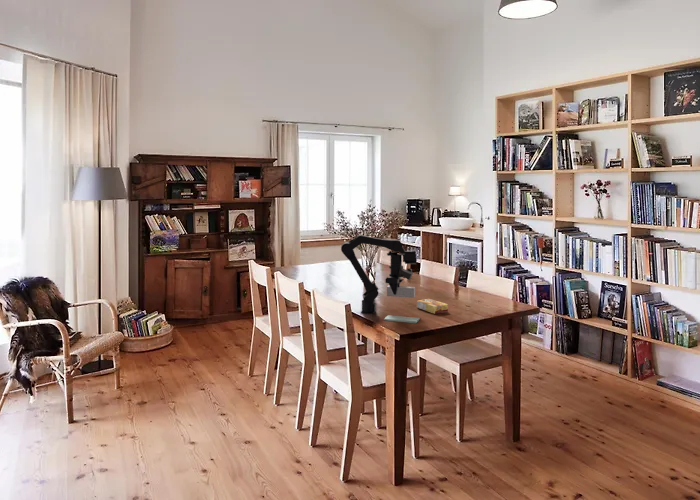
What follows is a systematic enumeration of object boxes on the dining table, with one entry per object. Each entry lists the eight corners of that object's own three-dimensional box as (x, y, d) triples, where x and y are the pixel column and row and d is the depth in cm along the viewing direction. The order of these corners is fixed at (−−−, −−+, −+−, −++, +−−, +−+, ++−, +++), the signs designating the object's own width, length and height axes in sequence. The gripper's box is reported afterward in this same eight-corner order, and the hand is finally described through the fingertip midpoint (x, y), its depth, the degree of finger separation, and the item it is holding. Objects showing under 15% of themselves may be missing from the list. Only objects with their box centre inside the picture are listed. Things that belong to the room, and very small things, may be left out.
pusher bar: (386, 296, 278) (387, 286, 277) (388, 294, 281) (388, 285, 280) (413, 297, 274) (414, 288, 273) (414, 296, 277) (415, 286, 276)
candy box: (448, 312, 279) (429, 306, 292) (448, 304, 279) (429, 298, 292) (434, 314, 275) (416, 307, 288) (434, 306, 274) (416, 300, 287)
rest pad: (384, 320, 263) (384, 318, 263) (388, 316, 270) (388, 315, 270) (416, 323, 258) (416, 321, 258) (419, 319, 265) (419, 318, 264)
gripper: (407, 267, 264) (406, 299, 267) (415, 262, 282) (415, 291, 284) (385, 266, 268) (385, 297, 270) (394, 261, 286) (394, 289, 288)
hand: (395, 293), depth 278 cm, fingers closed on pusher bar, 3 cm apart
